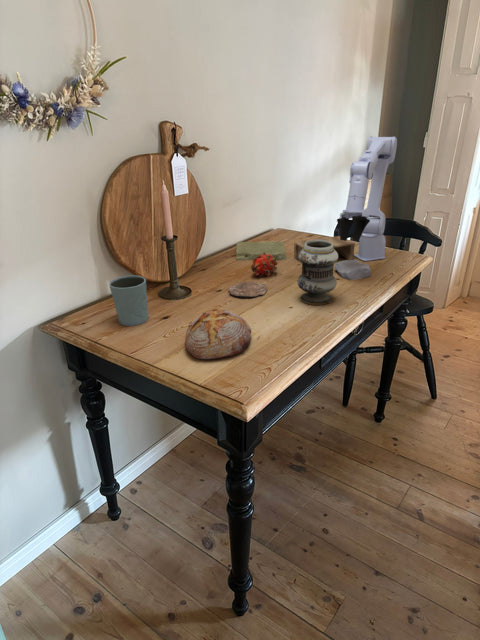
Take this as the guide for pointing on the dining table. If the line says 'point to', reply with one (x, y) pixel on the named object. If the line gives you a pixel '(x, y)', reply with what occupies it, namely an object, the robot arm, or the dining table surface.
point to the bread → (217, 335)
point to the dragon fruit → (264, 264)
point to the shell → (247, 290)
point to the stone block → (352, 269)
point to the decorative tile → (259, 250)
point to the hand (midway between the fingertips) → (349, 240)
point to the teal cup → (130, 299)
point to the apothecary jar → (317, 271)
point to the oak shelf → (339, 246)
